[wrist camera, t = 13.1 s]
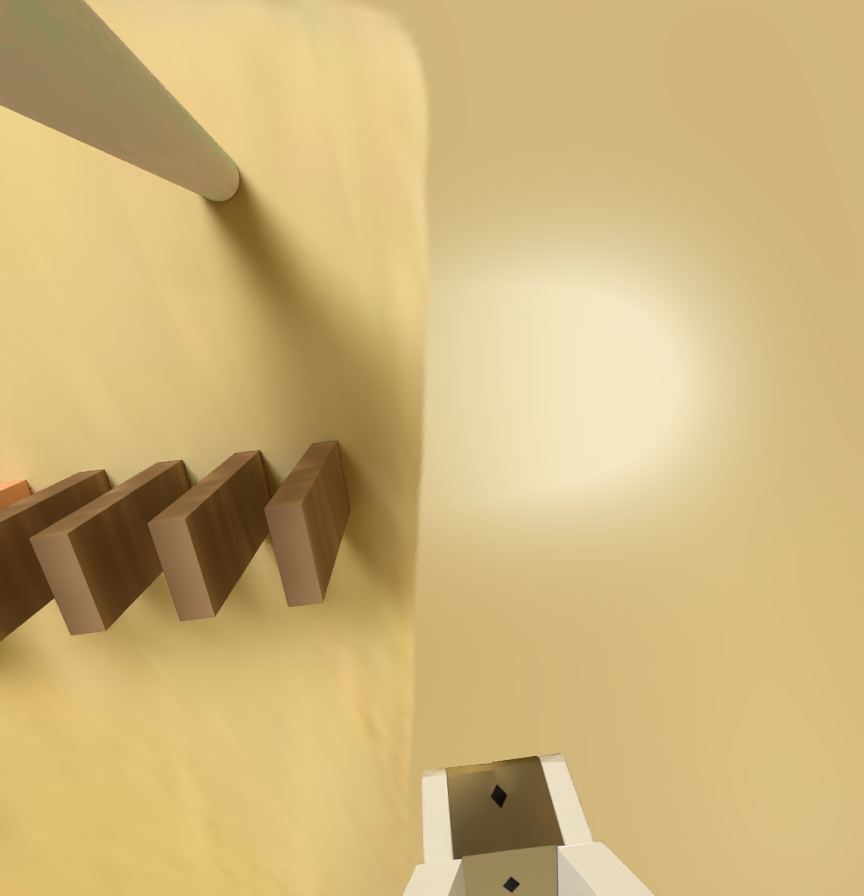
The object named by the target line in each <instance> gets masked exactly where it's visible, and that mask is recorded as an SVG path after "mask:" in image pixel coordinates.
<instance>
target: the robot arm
mask: <svg viewBox="0 0 864 896" xmlns="http://www.w3.org/2000/svg"><path fill="white" fill-rule="evenodd" d="M422 808H423V810H422V811H423V847H424V863H422V864H417V865H416V867H415V869H414V871H413V873H412V875H411V877H410V879H409V882H408V884H407V886H406V888H405V890H404V892H403V894H402V896H655V895H654V894H653V893H652V892H651V891H650V890H649V889H648V888H647V887H646V886H645V885H644V883H642V881H640V880H639V878H638V877H637V876H636V875H635V874H634V873H633V872H632V871H631V870H630V869H629V868H628V867H627V866H626V865H625V864H624V863H623V862H622V861H621V860H620V859H619V858H618V857H617V856H616V855H615V854H614V853H613V852H612V851H611V850H610V849H609V848H608V847H607V846H606V845H605V843H604V842H603V841H594V839H593V836H592V833H591V830H590V828H589V825H588V822H587V819H586V816H585V814H584V811H583V808H582V805H581V802H580V800H579V797H578V794H577V791H576V788H575V786H574V782H573V780H572V777H571V774H570V771H569V768H568V766H567V763H566V760H565V758H564V757H563V755H562V754H560V753H559V754H553V755H547V756H539V757H537V756H532V757H525V758H518V759H511V760H504V761H497V762H492V763H489V764H479V765H468V766H459V767H450V768H447V771H446V768H439V769H430V770H423V772H422Z"/></svg>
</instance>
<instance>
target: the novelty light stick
mask: <svg viewBox="0 0 864 896" xmlns="http://www.w3.org/2000/svg"><path fill="white" fill-rule="evenodd" d="M0 105H1V106H4V107H6V108H8V109H10V110H12V111H15V112H17V113H19V114H21V115H24V116H26V117H28V118H30V119H32V120H35V121H37V122H39V123H41V124H44V125H46V126H48V127H50V128H52V129H55V130H57V131H59V132H61V133H64V134H66V135H68V136H70V137H72V138H75V139H77V140H79V141H81V142H84V143H86V144H88V145H90V146H92V147H95V148H97V149H99V150H101V151H104V152H106V153H108V154H110V155H112V156H115V157H117V158H119V159H121V160H124V161H126V162H128V163H130V164H132V165H135V166H137V167H139V168H141V169H143V170H146V171H148V172H150V173H152V174H155V175H157V176H159V177H161V178H163V179H166V180H168V181H170V182H172V183H175V184H177V185H179V186H181V187H183V188H186V189H188V190H190V191H192V192H195V193H197V194H199V195H201V196H203V197H206V198H208V199H210V200H213V201H225V200H228V199H230V198H231V197H232V196H233V195H234V194H235V193H236V191H237V189H238V186H239V172H238V168H237V166H236V164H235V163H234V161H233V160H232V158H231V157H230V156H229V155H228V154H227V153H226V152H225V151H224V150H223V149H222V148H221V147H220V146H219V145H218V143H217V142H216V141H215V140H214V139H213V138H212V137H211V136H210V135H209V134H208V133H207V132H206V131H205V130H204V128H203V127H202V126H201V125H200V124H199V123H198V122H197V121H196V120H195V119H194V118H193V117H192V116H191V115H190V113H189V112H188V111H187V110H186V109H185V108H184V107H183V106H182V105H181V104H180V103H179V102H178V101H177V100H176V98H175V97H174V96H173V95H172V94H171V93H170V92H169V91H168V90H167V89H166V88H165V87H164V86H163V85H162V83H161V82H160V81H159V80H158V79H157V78H156V77H155V76H154V75H153V74H152V73H151V72H150V71H149V70H148V68H147V67H146V66H145V65H144V64H143V63H142V62H141V61H140V60H139V59H138V58H137V57H136V56H135V55H134V53H133V52H132V51H131V50H130V49H129V48H128V47H127V46H126V45H125V44H124V43H123V42H122V41H121V40H120V38H119V37H118V36H117V35H116V34H115V33H114V32H113V31H112V30H111V29H110V28H109V27H108V26H107V25H106V23H105V22H104V21H103V20H102V19H101V18H100V17H99V16H98V15H97V14H96V13H95V12H94V11H93V10H92V8H91V7H90V6H89V5H88V4H87V3H86V2H85V1H84V0H0Z"/></svg>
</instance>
